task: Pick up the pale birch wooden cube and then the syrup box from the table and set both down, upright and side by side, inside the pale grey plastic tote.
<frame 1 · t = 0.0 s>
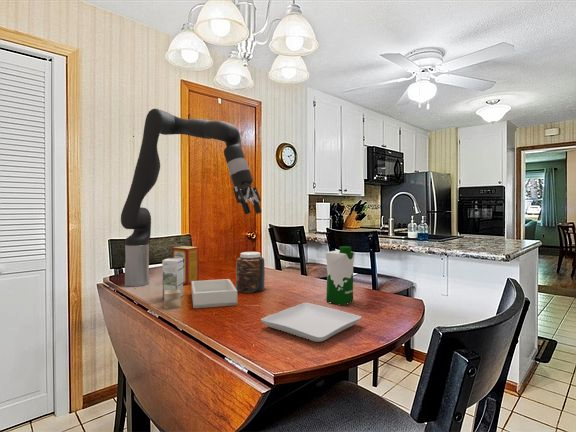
hand: (253, 213, 127), 31 cm above the table, tool tilted 20°, fingers open, 8 cm apart
syrup box: (173, 298, 129), on the table
jar: (250, 290, 142), on the table
milk carton: (339, 302, 124), on the table
birch cube: (172, 306, 118), on the table
baking soda box: (185, 282, 154), on the table
tote: (213, 299, 127), on the table
salad plate: (311, 329, 98), on the table
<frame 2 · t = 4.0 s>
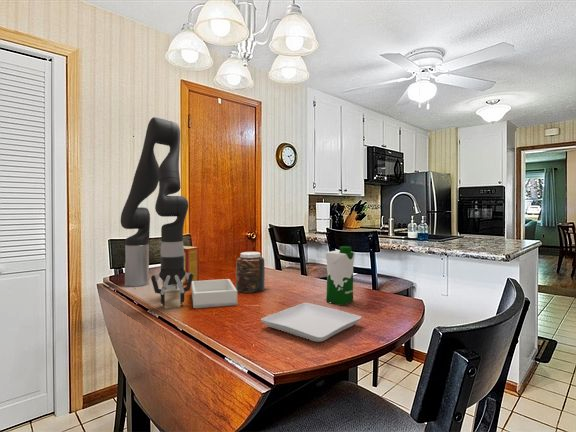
hand: (172, 303, 118), 1 cm above the table, tool pointing down, fingers closed on birch cube, 5 cm apart
birch cube: (172, 305, 118), on the table, touching gripper
everything else where it was.
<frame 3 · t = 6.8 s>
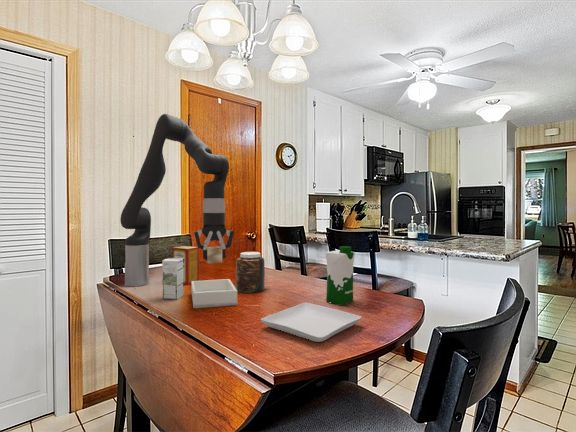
hand: (214, 259, 121), 15 cm above the table, tool pointing down, fingers closed on birch cube, 5 cm apart
birch cube: (214, 261, 121), point 15 cm above the table, touching gripper
everything else where it was.
when the fingers open (3 cm above the table, at t = 9.4 s): birch cube drops 1 cm, resting on tote.
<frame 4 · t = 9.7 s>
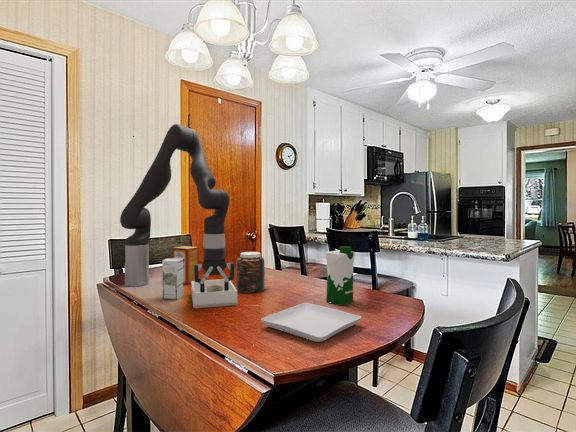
hand: (214, 292, 122), 4 cm above the table, tool pointing down, fingers open, 7 cm apart
birch cube: (214, 300, 122), point 1 cm above the table, touching tote
everything else where it was.
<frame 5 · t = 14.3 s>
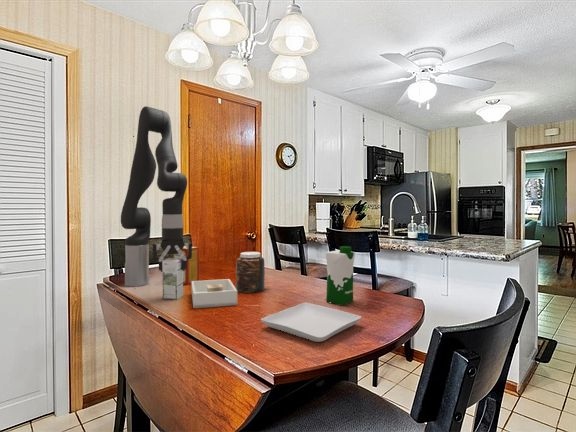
hand: (172, 271, 128), 10 cm above the table, tool pointing down, fingers closed on syrup box, 7 cm apart
syrup box: (173, 298, 129), on the table, touching gripper
everything else where it was.
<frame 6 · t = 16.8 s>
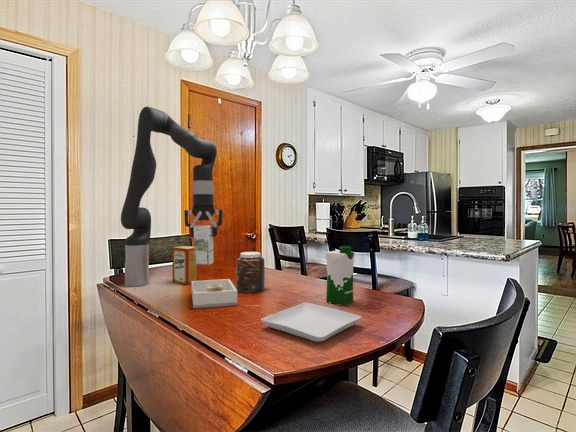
hand: (203, 237, 129), 22 cm above the table, tool pointing down, fingers closed on syrup box, 7 cm apart
syrup box: (204, 264, 130), point 12 cm above the table, touching gripper
everything else where it was.
when the fingers open (13 cm above the table, at t = 19.4 s): syrup box drops 2 cm, resting on tote.
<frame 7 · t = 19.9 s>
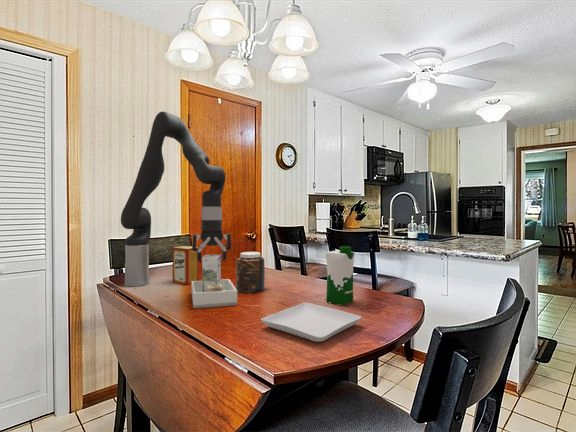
hand: (211, 261, 131), 13 cm above the table, tool pointing down, fingers open, 8 cm apart
syrup box: (211, 293, 131), point 1 cm above the table, touching tote
everything else where it was.
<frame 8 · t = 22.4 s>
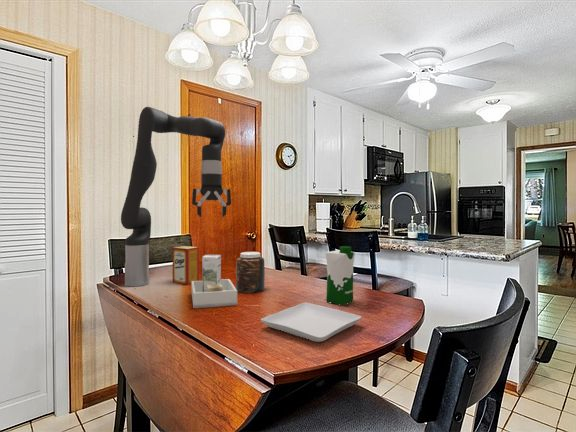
hand: (211, 216, 130), 30 cm above the table, tool pointing down, fingers open, 8 cm apart
nothing on the table moved.
at the end: birch cube inside the target area on the tote (5.0 cm from its centre), point 1.0 cm above the tote's base; syrup box inside the target area on the tote (4.6 cm from its centre), point 0.8 cm above the tote's base; syrup box tilted 0° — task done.
